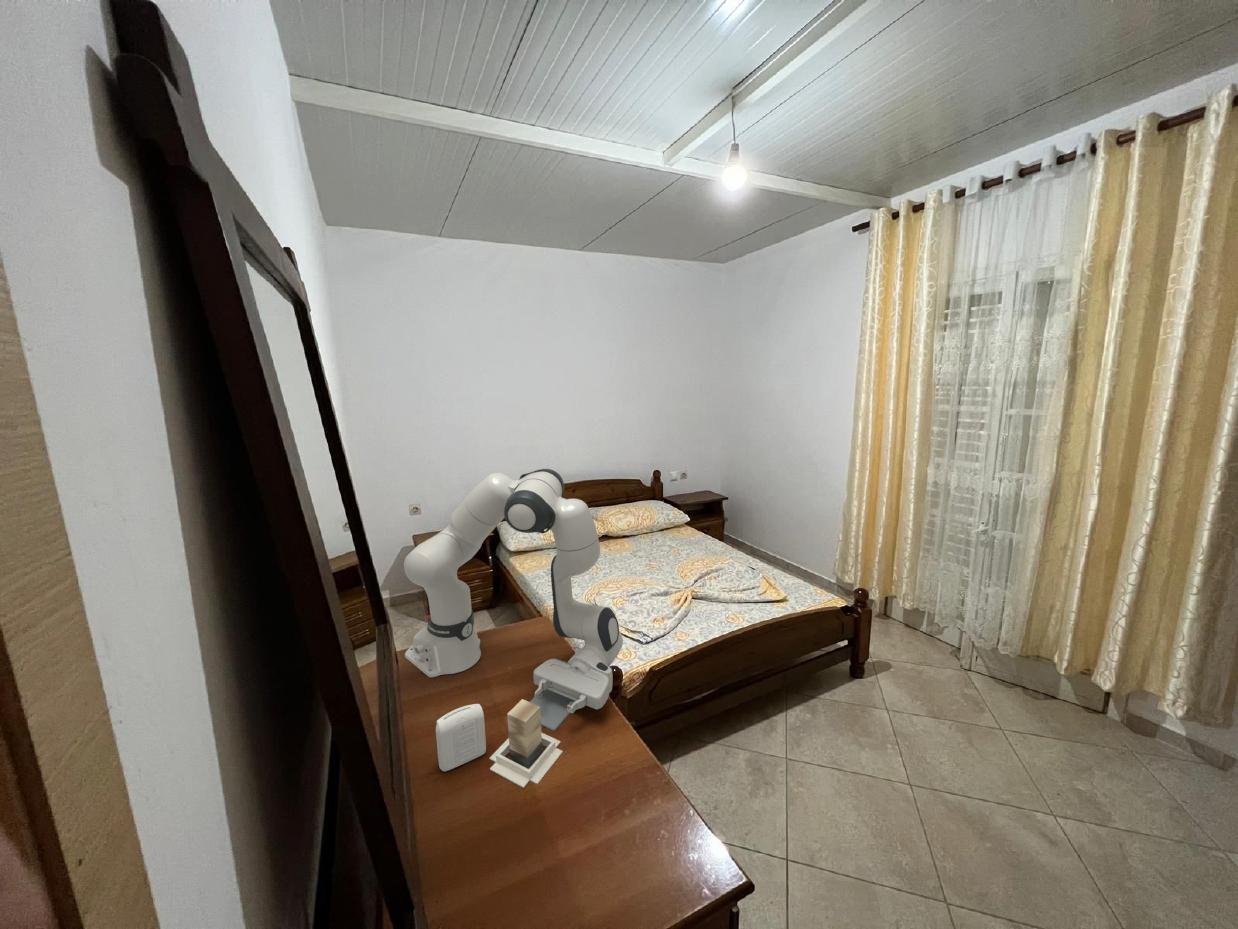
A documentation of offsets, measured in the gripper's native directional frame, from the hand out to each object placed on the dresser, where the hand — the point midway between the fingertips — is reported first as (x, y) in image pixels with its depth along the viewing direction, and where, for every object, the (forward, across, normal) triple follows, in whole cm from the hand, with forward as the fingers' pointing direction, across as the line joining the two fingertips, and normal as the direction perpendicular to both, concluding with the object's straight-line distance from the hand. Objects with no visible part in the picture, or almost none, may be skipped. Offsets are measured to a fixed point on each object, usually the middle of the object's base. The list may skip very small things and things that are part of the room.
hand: (552, 703), depth 113 cm
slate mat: (-4, -4, +6) cm, 8 cm away
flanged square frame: (+10, 0, +6) cm, 12 cm away
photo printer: (+17, -12, +6) cm, 22 cm away
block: (+10, 0, +6) cm, 12 cm away
